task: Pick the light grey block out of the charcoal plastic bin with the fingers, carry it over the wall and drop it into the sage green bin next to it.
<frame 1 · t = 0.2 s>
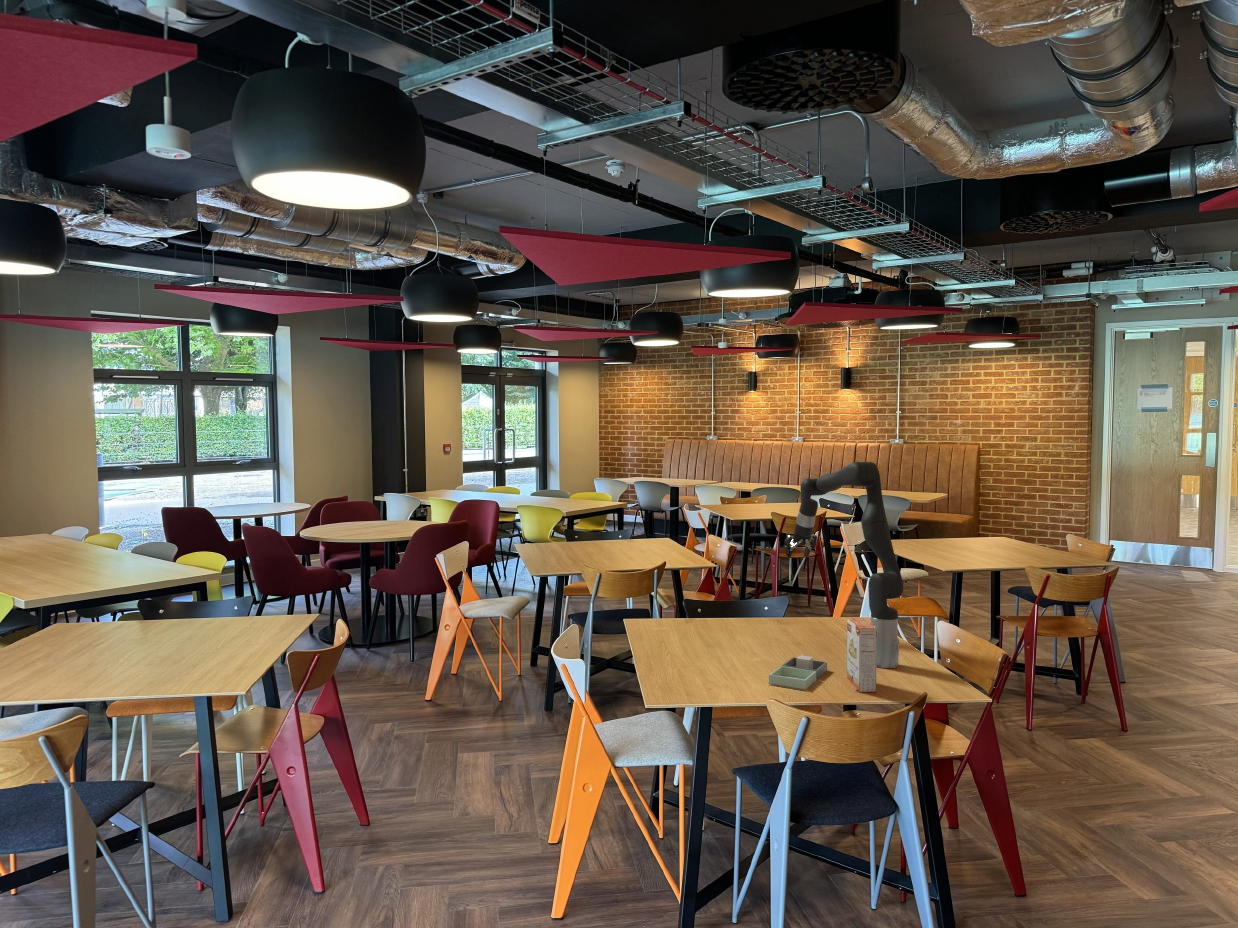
hand: (797, 556, 335), 31 cm above the table, tool tilted 20°, fingers open, 8 cm apart
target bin: (792, 683, 259), on the table
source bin: (804, 673, 270), on the table
light grey block: (804, 671, 270), point 1 cm above the table, touching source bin
cracker box: (860, 686, 257), on the table
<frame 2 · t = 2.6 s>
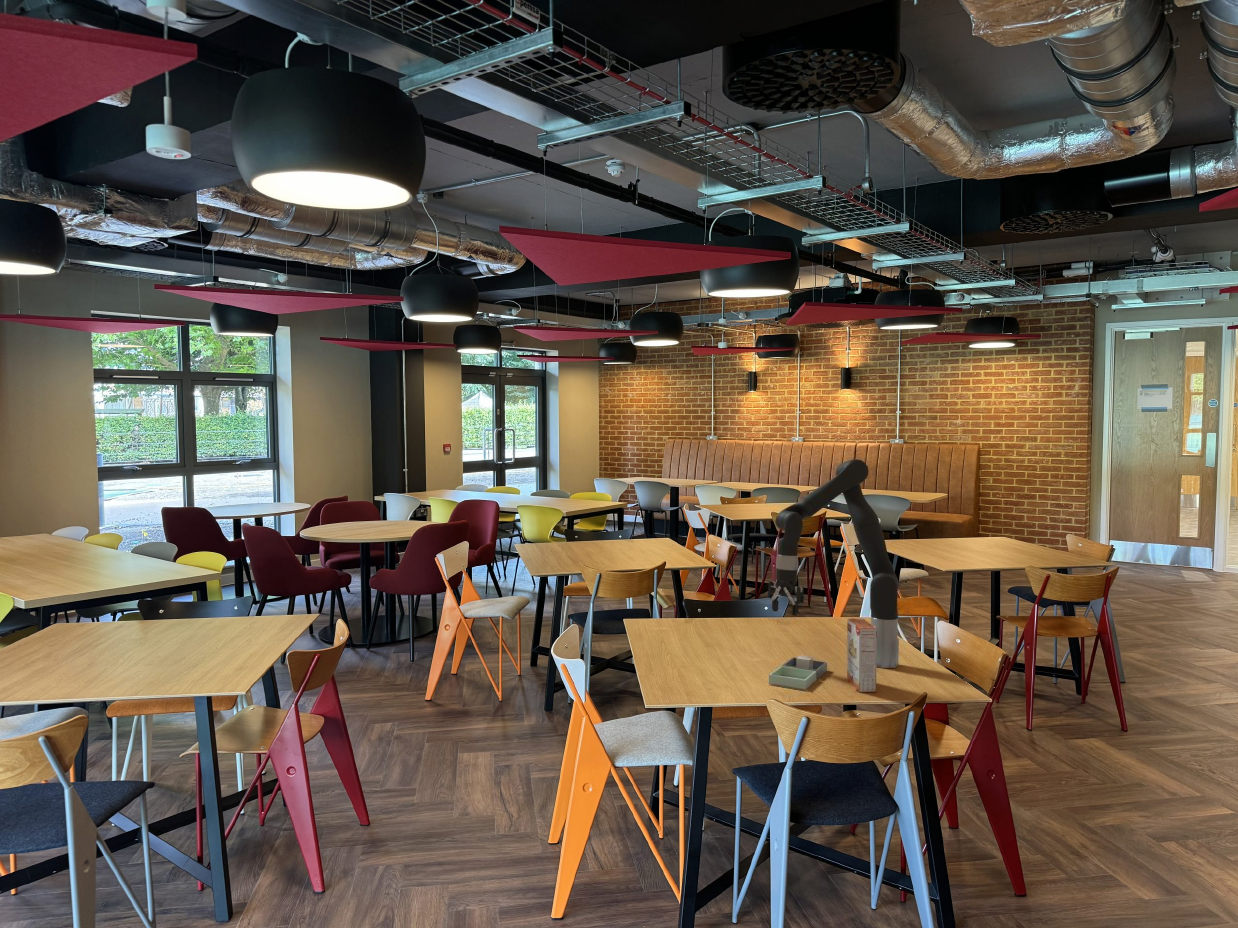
hand: (784, 613, 278), 19 cm above the table, tool pointing down, fingers open, 8 cm apart
nothing on the table moved.
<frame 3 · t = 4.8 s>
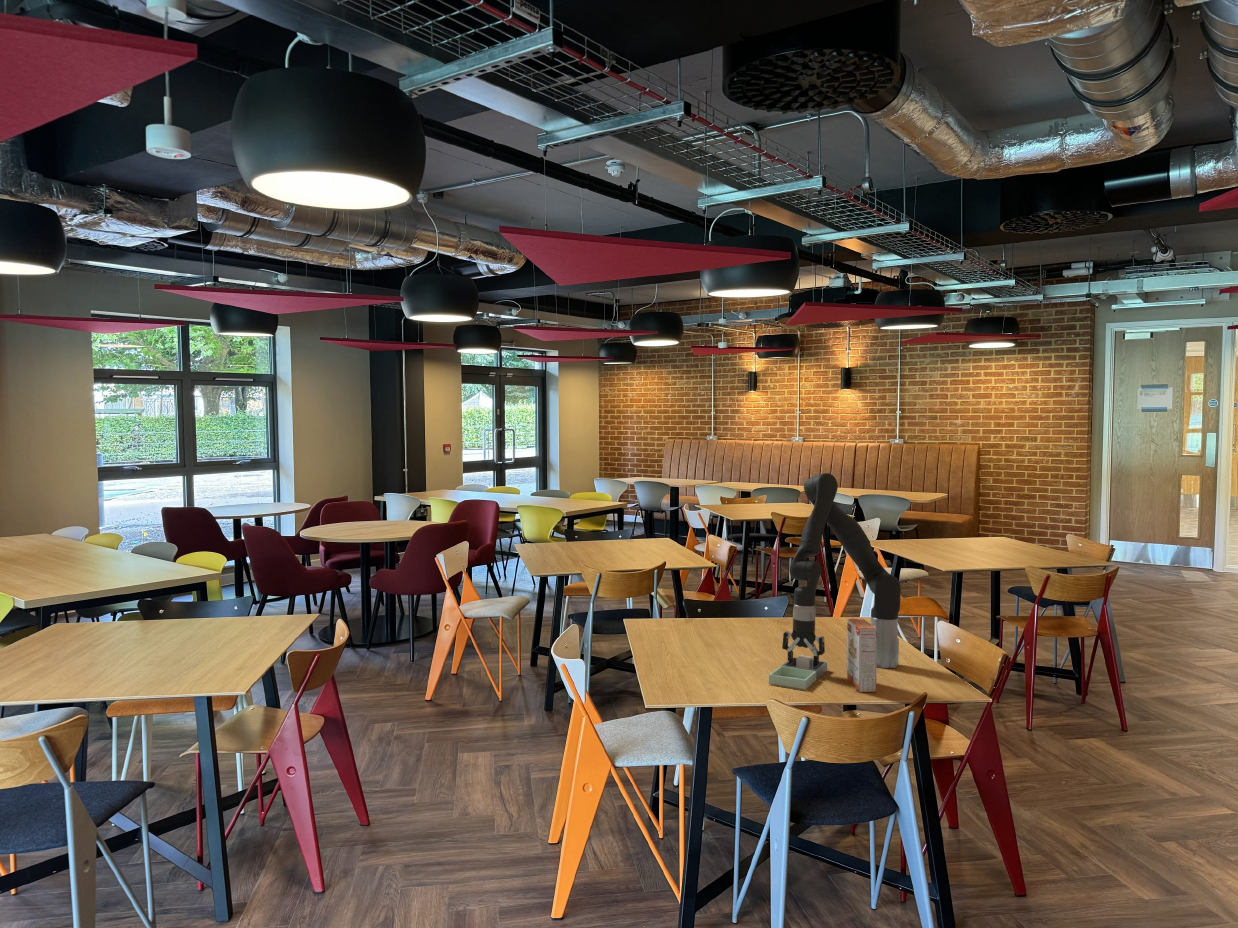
hand: (802, 664, 271), 3 cm above the table, tool pointing down, fingers open, 8 cm apart
nothing on the table moved.
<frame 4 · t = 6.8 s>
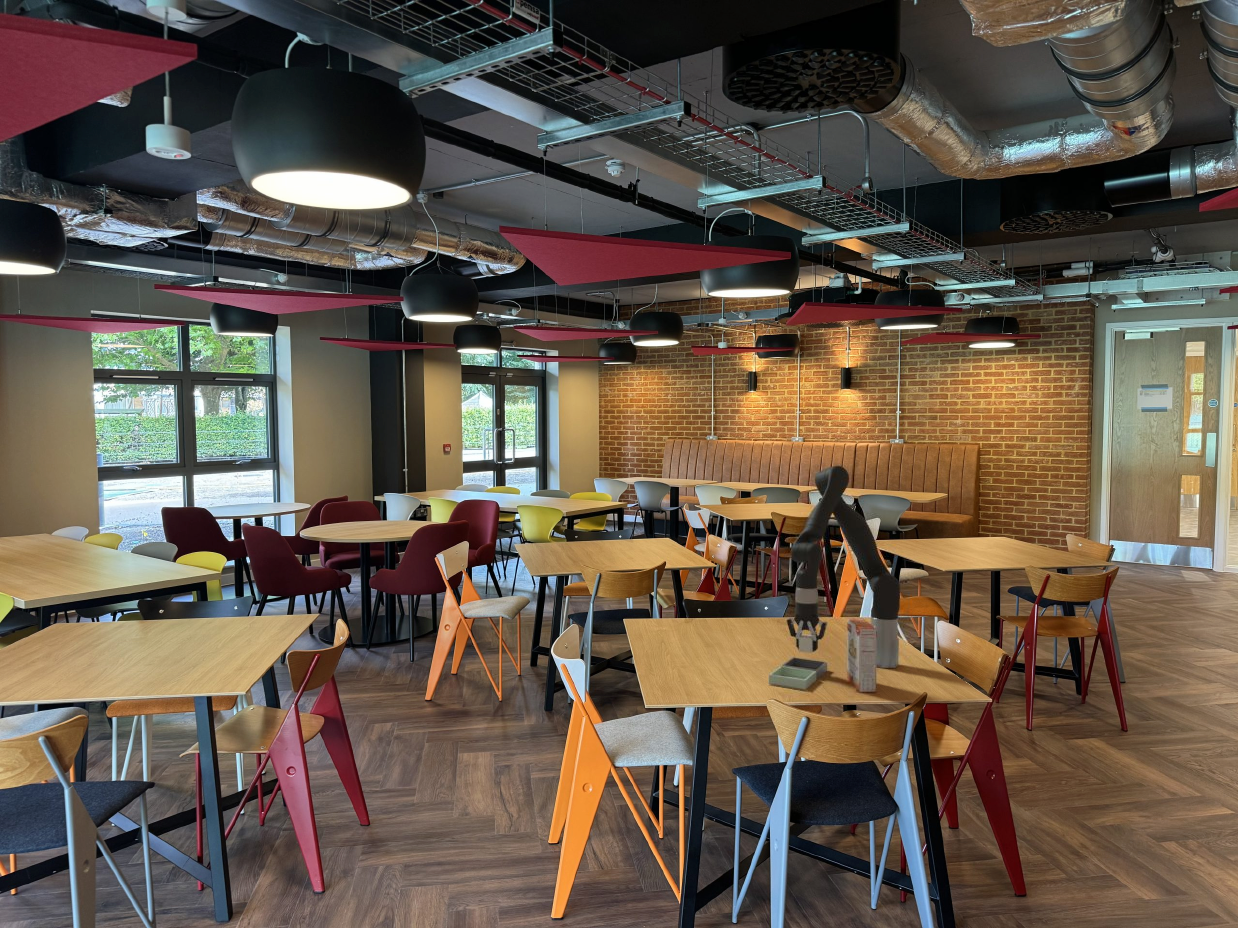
hand: (807, 649, 269), 9 cm above the table, tool pointing down, fingers closed on light grey block, 4 cm apart
light grey block: (807, 650, 270), point 8 cm above the table, touching gripper
everything else where it was.
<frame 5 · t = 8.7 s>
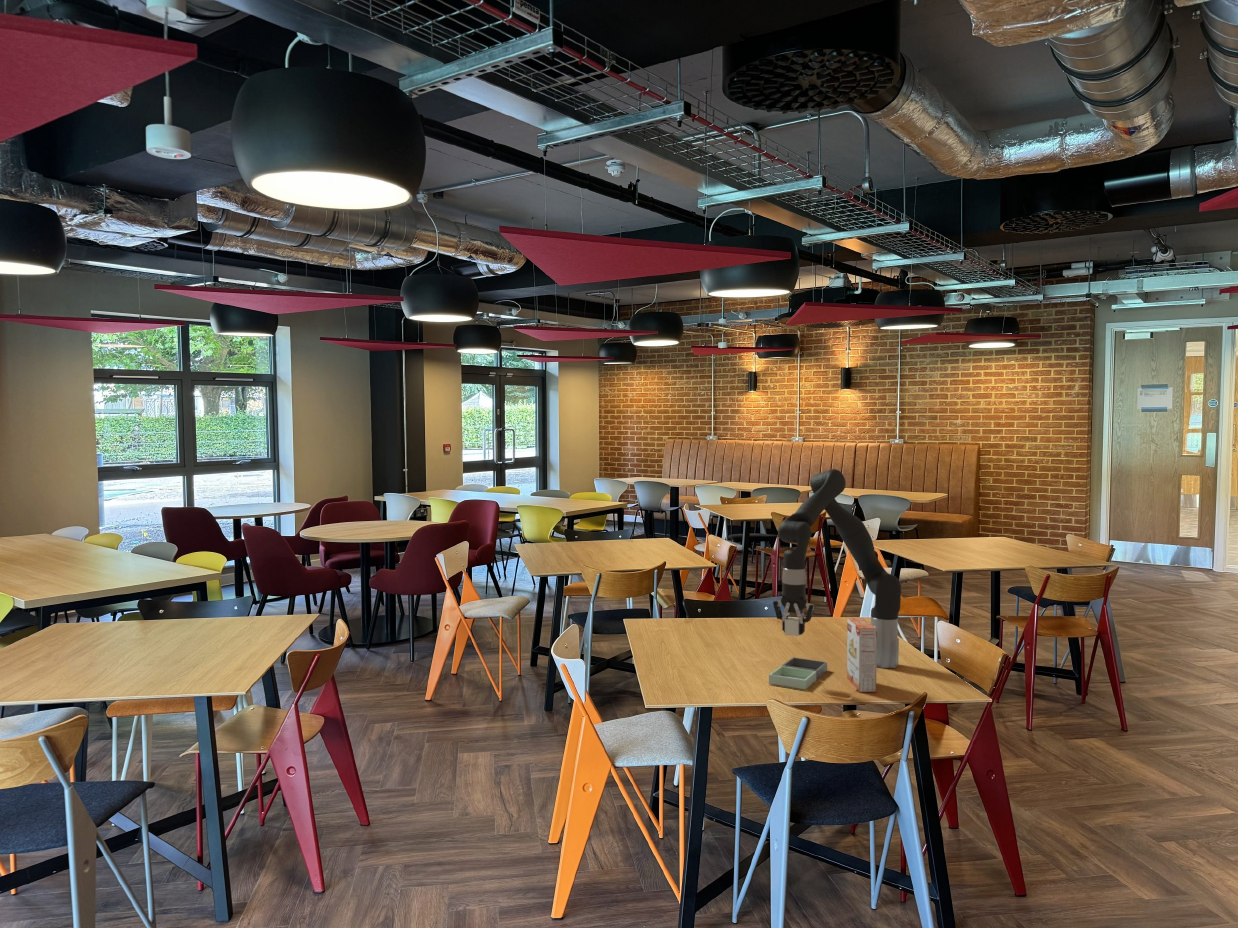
hand: (793, 632, 259), 17 cm above the table, tool pointing down, fingers closed on light grey block, 4 cm apart
light grey block: (793, 633, 259), point 16 cm above the table, touching gripper
everything else where it was.
when the fingers open (3 cm above the table, at t = 12.0 s): light grey block drops 2 cm, resting on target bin.
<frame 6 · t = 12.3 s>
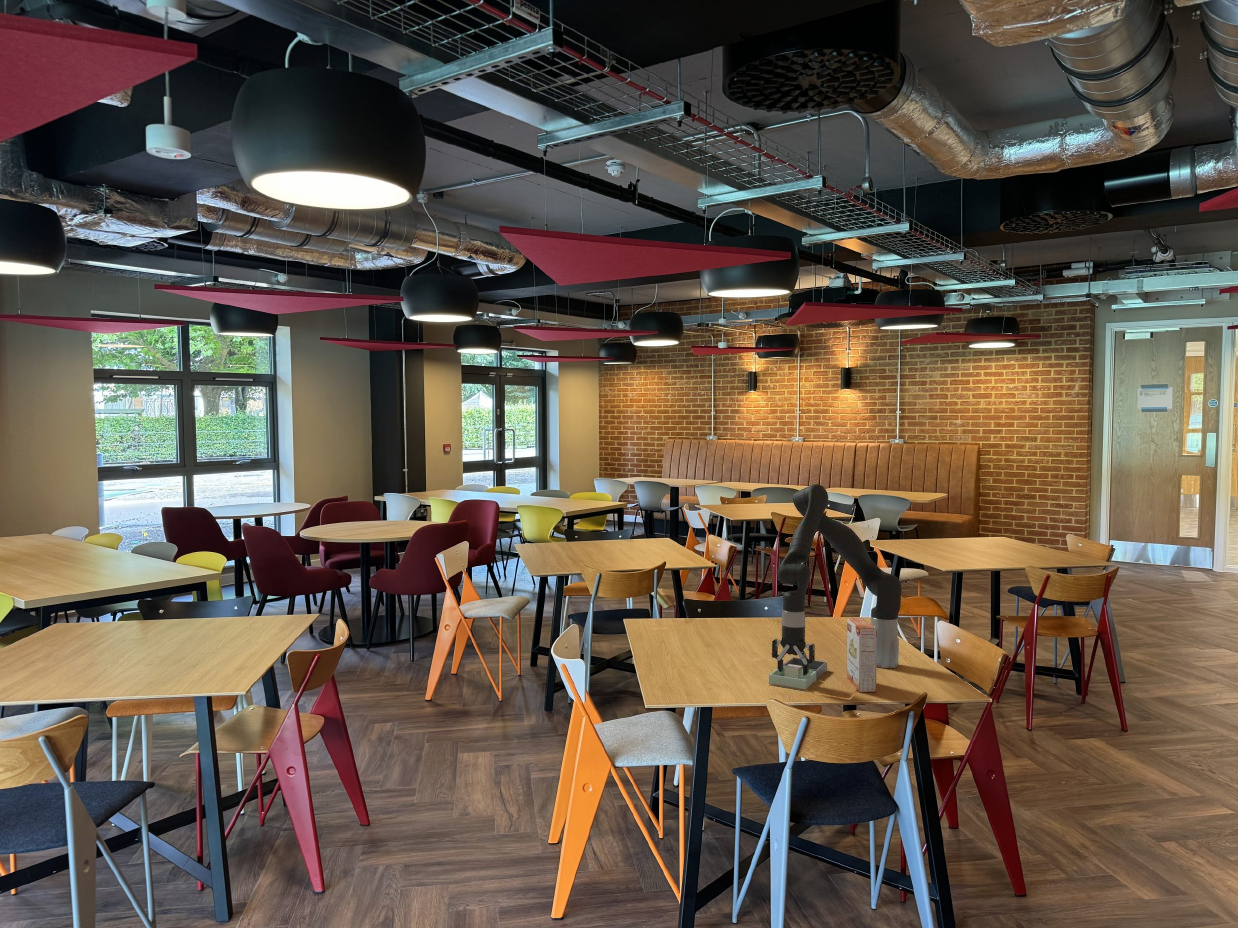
hand: (792, 672, 259), 3 cm above the table, tool pointing down, fingers open, 7 cm apart
light grey block: (793, 681, 259), point 1 cm above the table, touching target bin
everything else where it was.
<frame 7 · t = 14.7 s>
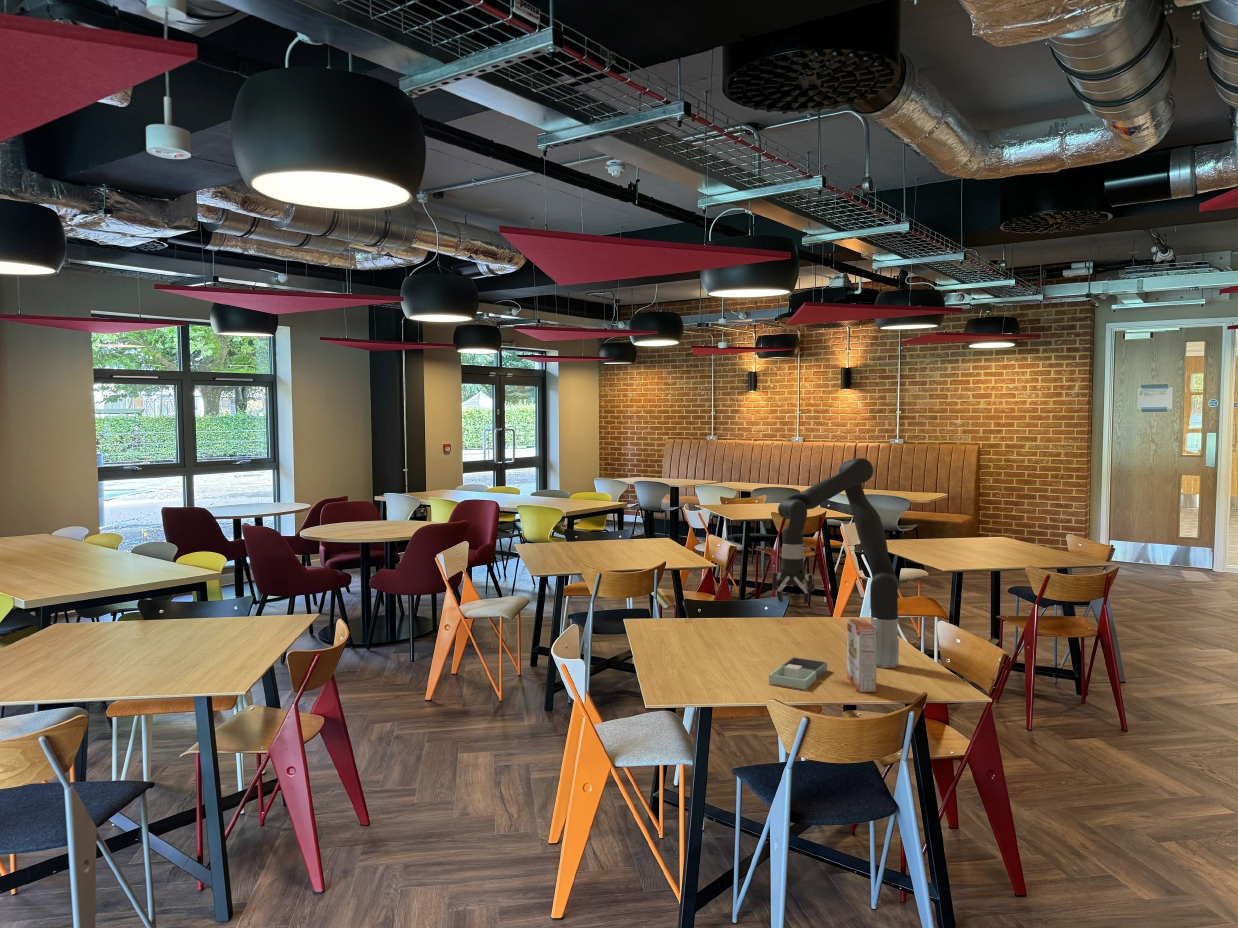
hand: (793, 602, 274), 24 cm above the table, tool pointing down, fingers open, 8 cm apart
nothing on the table moved.
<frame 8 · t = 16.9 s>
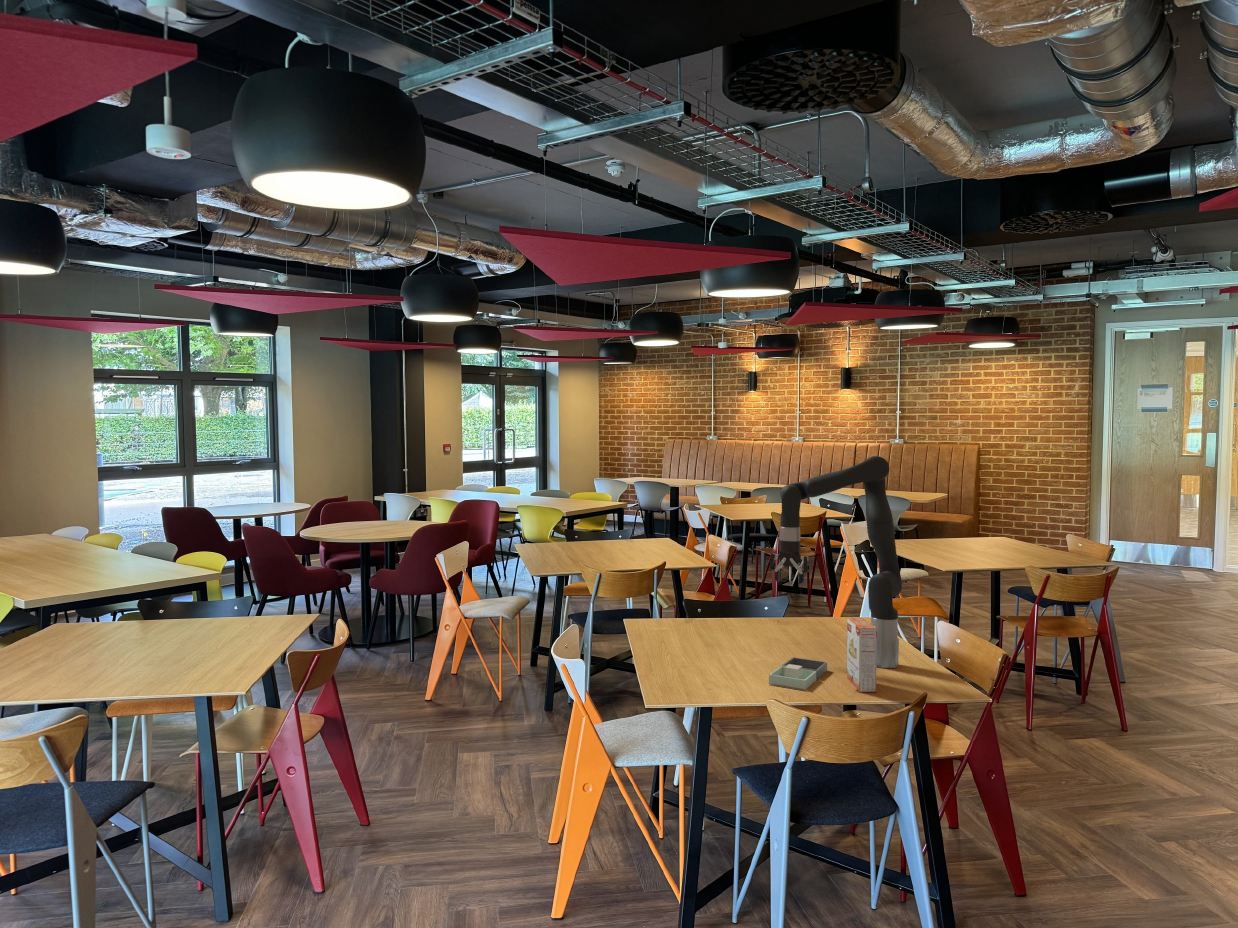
hand: (789, 582, 289), 28 cm above the table, tool pointing down, fingers open, 8 cm apart
nothing on the table moved.
at the end: light grey block inside the target area on the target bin (0.2 cm from its centre), point 0.6 cm above the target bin's base; the gripper is holding nothing; light grey block moved 12.8 cm from its start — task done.
